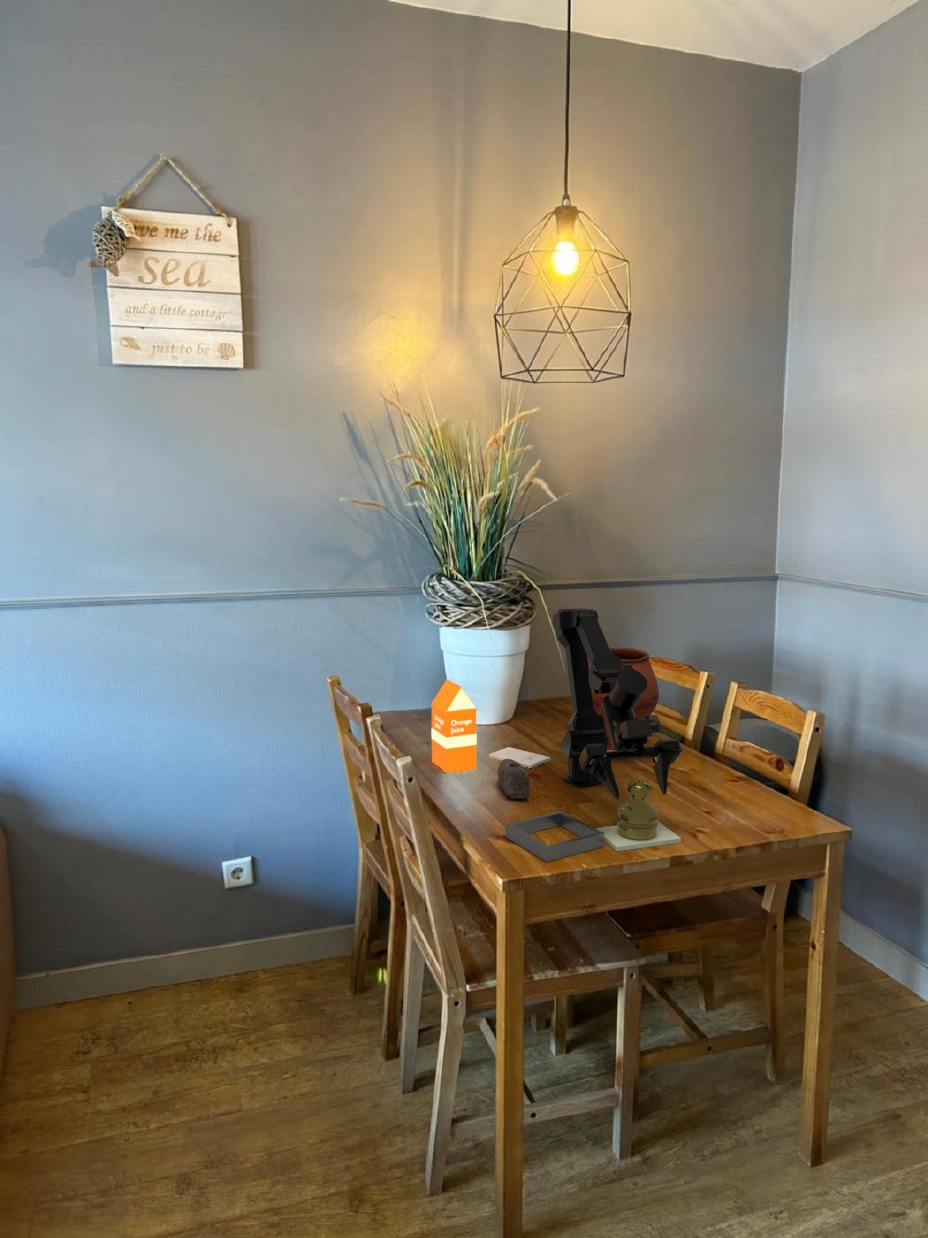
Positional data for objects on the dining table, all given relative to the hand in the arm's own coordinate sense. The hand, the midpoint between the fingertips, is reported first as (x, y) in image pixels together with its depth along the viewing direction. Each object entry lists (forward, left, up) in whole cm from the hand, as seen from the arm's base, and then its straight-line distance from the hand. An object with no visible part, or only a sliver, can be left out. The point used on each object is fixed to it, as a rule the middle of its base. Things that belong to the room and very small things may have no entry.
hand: (641, 795), depth 162 cm
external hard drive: (-51, +8, -9) cm, 53 cm away
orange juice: (-55, -8, -9) cm, 56 cm away
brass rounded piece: (-1, 0, -8) cm, 8 cm away
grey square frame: (-8, -14, -9) cm, 18 cm away
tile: (-1, 0, -9) cm, 9 cm away
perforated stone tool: (-34, -6, -9) cm, 35 cm away
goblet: (-43, +31, -9) cm, 53 cm away
